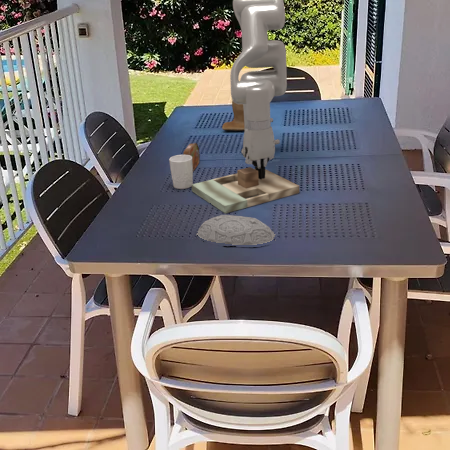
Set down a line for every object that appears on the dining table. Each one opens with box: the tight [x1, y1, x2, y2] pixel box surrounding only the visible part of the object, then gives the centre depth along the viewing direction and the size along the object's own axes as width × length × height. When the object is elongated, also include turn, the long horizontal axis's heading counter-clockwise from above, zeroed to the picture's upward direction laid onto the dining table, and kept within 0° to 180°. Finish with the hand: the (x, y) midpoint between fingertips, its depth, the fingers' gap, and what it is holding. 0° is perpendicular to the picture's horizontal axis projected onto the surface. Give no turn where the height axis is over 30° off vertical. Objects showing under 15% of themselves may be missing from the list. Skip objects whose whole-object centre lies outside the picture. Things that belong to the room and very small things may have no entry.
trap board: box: [191, 168, 300, 214], centre depth 200 cm, size 28×23×2 cm
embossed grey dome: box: [196, 214, 276, 245], centre depth 170 cm, size 16×25×7 cm, turn 70°
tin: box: [182, 142, 201, 172], centre depth 224 cm, size 15×3×8 cm, turn 168°
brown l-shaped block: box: [221, 99, 245, 132], centre depth 267 cm, size 15×12×15 cm
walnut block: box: [236, 166, 259, 188], centre depth 199 cm, size 5×5×5 cm
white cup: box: [168, 154, 194, 190], centre depth 207 cm, size 8×8×10 cm
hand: (260, 177), depth 201 cm, fingers closed
